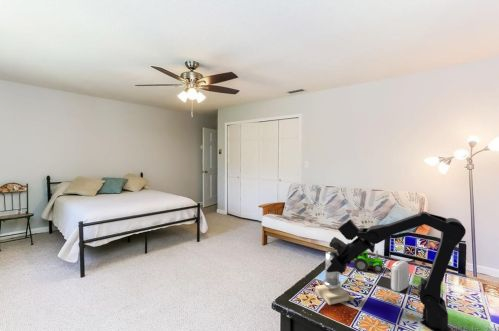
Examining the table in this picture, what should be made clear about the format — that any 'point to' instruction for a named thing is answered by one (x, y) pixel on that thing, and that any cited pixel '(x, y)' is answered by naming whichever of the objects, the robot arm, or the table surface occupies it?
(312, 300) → the table surface
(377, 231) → the robot arm
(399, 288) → the photo printer
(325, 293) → the stand
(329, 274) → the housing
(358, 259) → the toy tractor
